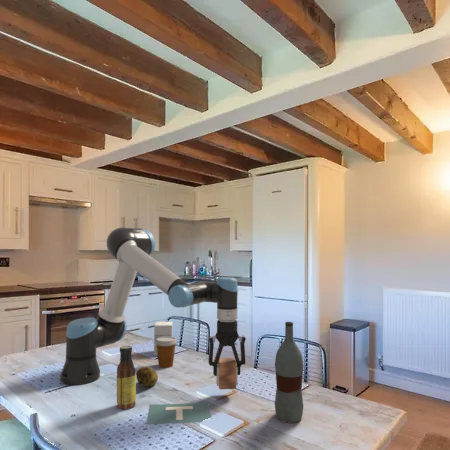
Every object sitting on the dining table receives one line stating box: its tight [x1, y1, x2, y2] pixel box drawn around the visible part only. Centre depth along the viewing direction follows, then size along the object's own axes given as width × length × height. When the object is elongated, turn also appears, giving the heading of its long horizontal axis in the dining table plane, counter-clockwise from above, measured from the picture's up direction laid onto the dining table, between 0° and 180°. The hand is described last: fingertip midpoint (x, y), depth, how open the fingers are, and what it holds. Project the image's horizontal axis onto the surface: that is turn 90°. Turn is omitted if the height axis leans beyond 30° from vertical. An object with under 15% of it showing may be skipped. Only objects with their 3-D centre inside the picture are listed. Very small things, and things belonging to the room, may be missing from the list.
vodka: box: [274, 321, 304, 423], centre depth 121 cm, size 9×9×30 cm
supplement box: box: [153, 321, 173, 357], centre depth 190 cm, size 9×9×15 cm
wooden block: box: [218, 357, 237, 390], centre depth 137 cm, size 6×6×9 cm
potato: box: [136, 366, 159, 387], centre depth 146 cm, size 8×13×8 cm, turn 156°
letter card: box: [146, 402, 212, 425], centre depth 122 cm, size 20×14×1 cm
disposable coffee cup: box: [156, 336, 178, 369], centre depth 170 cm, size 10×10×12 cm
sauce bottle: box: [116, 345, 137, 410], centre depth 127 cm, size 7×6×20 cm
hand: (226, 384), depth 136 cm, fingers closed on wooden block, 6 cm apart
